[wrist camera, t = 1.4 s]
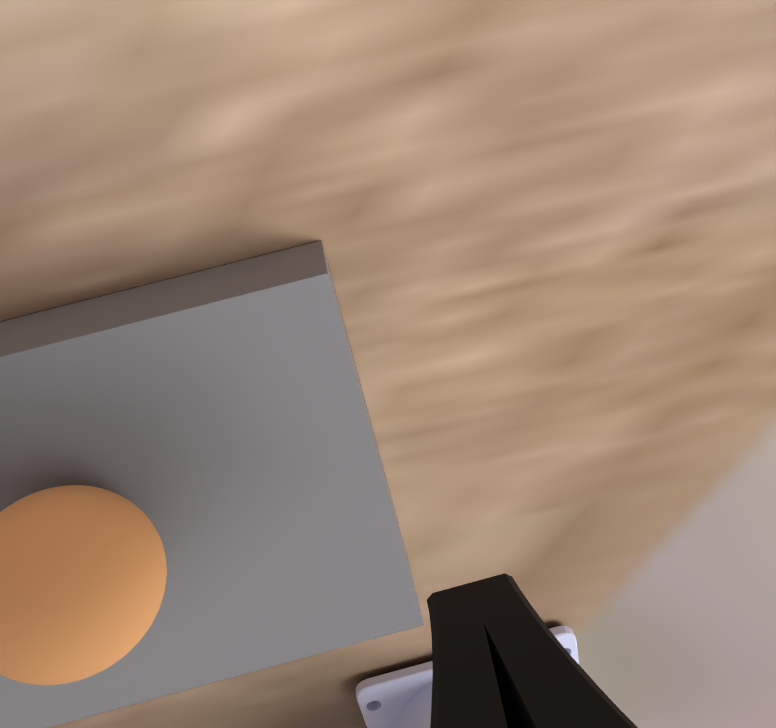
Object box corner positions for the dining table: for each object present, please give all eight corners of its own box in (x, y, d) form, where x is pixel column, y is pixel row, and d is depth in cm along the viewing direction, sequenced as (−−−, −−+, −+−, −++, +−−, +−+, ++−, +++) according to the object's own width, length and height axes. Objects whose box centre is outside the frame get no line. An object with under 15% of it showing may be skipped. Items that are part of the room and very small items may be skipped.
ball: (201, 557, 17) (180, 697, 13) (47, 598, 17) (-16, 751, 13) (141, 430, 15) (97, 554, 11) (-33, 475, 15) (-133, 614, 11)
